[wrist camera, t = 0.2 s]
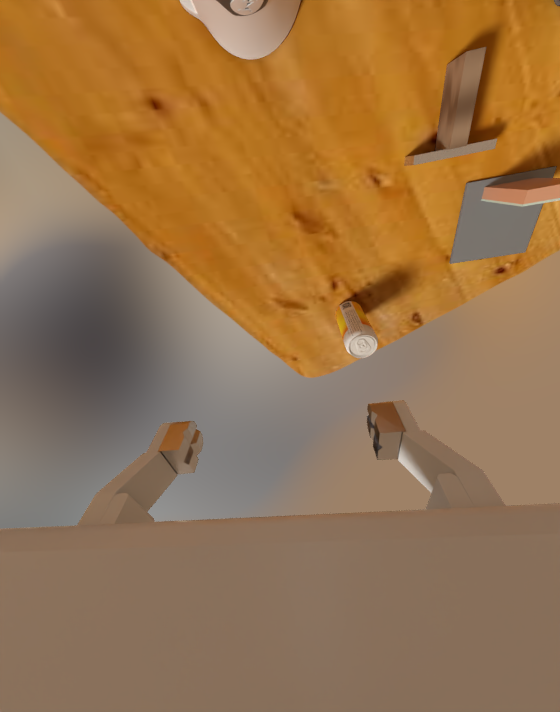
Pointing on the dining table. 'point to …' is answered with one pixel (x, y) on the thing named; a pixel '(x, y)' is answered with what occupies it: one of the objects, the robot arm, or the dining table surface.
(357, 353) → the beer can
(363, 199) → the dining table surface
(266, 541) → the robot arm
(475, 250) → the charcoal mat
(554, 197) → the terracotta tile
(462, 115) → the walnut scraper
